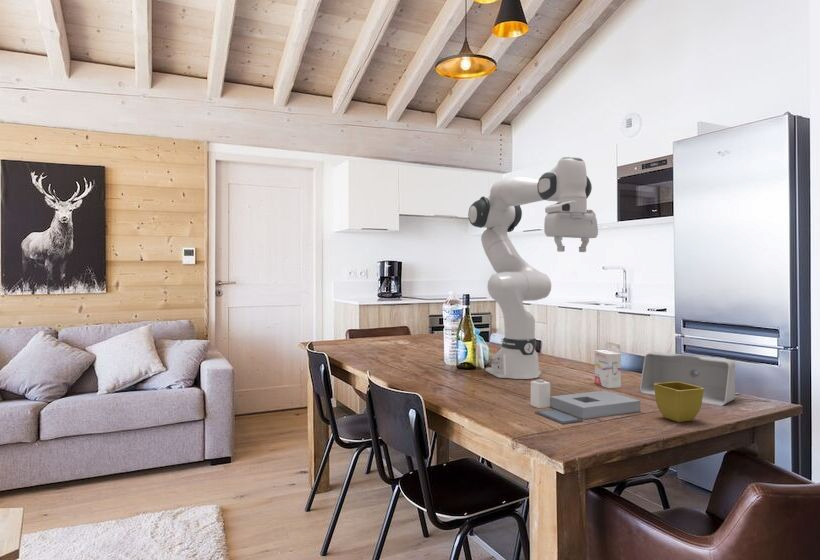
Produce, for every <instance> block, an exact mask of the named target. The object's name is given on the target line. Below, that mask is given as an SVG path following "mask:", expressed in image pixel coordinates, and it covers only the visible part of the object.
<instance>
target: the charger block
mask: <svg viewBox="0 0 820 560" xmlns="http://www.w3.org/2000/svg"><path fill="white" fill-rule="evenodd" d="M550 396H551V382H550V381H549V382H548V381H545V380H544V379H536V380H532V381H530V406H531V407H534V408H537V409H544V408H551V407H550Z"/></svg>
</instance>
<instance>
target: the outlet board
mask: <svg viewBox="0 0 820 560" xmlns="http://www.w3.org/2000/svg"><path fill="white" fill-rule="evenodd" d="M549 408H551V409H552V408H553V409H555V410H557V411H560V412H563V413H565V414H568V415H570V416H573V417H576V418H578V419H581V420H585V419H587V420H588V419H594V418H602V417H607V416H608V417H609V416H617V415H622V414H623V415H624V414H631V413H638V412H641V400H639V399H636V398H632V397H628V396H625V395H622V394H618V393H614V392H611V391H607V390H595V391H590V392H588V391H587V392H577V393H570V394H560V395H553V396H552V395H550V407H549Z"/></svg>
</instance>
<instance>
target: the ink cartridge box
mask: <svg viewBox="0 0 820 560" xmlns="http://www.w3.org/2000/svg"><path fill="white" fill-rule="evenodd" d="M605 346H606V349H596V350H594V384H596V385H599V386H601V387H604V388H606V389H619V388H622V384H621V382H622V381H621V380H622V379H621V377H622V374H621V373H622V368H621V367H622V364H621V363H622V359H621V358H622V357H621V356H622V353H621V344H619V343H616V342H611V341H606V342H605ZM612 346H613V347H612Z"/></svg>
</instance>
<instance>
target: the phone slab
mask: <svg viewBox="0 0 820 560" xmlns="http://www.w3.org/2000/svg"><path fill="white" fill-rule="evenodd" d="M534 414H536V415H538V416H541V417H543V418H545V419H548V420H551V421H553V422H556V423H558V424H561V425H570V424H576V423H577V424H578V423H584V422H583V421H584V419H582V418H579V417H576V416H574V415H571V414H568V413H566V412H563V411H560V410H558V409H555V408H553V409H552V408H551V409H545V410H537V411H534Z"/></svg>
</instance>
